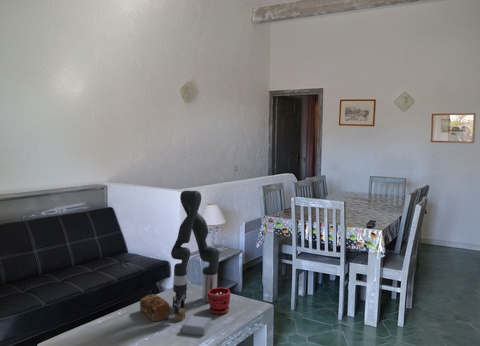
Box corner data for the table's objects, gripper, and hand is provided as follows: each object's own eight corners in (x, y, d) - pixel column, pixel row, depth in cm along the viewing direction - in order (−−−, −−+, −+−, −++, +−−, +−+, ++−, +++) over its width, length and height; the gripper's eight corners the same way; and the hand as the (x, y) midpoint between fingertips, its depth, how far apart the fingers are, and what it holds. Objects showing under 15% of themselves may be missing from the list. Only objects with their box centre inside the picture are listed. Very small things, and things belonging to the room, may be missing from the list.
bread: (170, 318, 218) (170, 301, 218) (152, 323, 212) (152, 305, 211) (156, 306, 233) (156, 290, 232) (139, 311, 227) (139, 294, 226)
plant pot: (231, 306, 235) (231, 287, 235) (228, 316, 222) (228, 295, 222) (209, 305, 237) (210, 286, 236) (205, 314, 224) (206, 294, 223)
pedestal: (190, 322, 213) (190, 315, 213) (211, 325, 211) (211, 317, 211) (182, 332, 202) (182, 324, 201) (204, 335, 199) (204, 327, 199)
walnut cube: (177, 316, 221) (177, 308, 220) (185, 317, 220) (185, 309, 219) (174, 320, 216) (174, 311, 216) (182, 321, 215) (182, 312, 215)
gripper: (178, 277, 224) (177, 305, 225) (168, 286, 210) (168, 315, 211) (190, 279, 222) (190, 306, 223) (181, 287, 209) (181, 317, 210)
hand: (179, 310), depth 217 cm, fingers open, 8 cm apart
